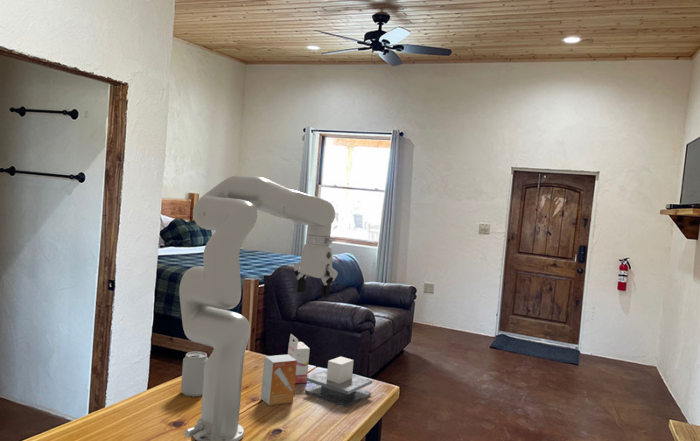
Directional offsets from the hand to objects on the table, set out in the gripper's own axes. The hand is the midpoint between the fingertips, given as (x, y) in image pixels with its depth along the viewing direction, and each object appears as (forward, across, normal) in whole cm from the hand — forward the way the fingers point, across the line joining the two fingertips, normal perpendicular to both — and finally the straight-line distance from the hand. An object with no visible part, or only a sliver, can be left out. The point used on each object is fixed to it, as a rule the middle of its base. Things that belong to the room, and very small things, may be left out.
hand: (312, 294), depth 173 cm
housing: (+26, -9, -6) cm, 28 cm away
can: (+32, +21, +26) cm, 46 cm away
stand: (+31, -9, -6) cm, 33 cm away
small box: (+32, 0, +12) cm, 34 cm away
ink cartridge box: (+31, +9, -7) cm, 33 cm away
